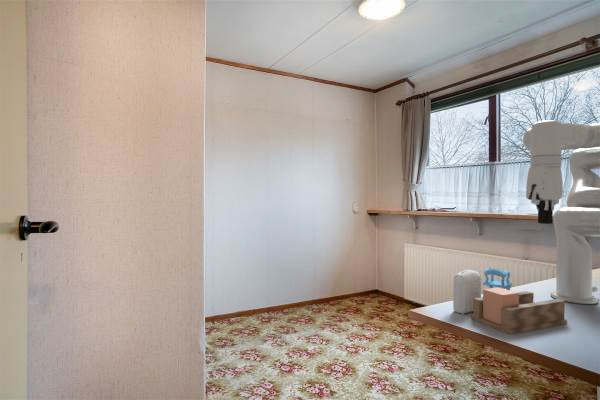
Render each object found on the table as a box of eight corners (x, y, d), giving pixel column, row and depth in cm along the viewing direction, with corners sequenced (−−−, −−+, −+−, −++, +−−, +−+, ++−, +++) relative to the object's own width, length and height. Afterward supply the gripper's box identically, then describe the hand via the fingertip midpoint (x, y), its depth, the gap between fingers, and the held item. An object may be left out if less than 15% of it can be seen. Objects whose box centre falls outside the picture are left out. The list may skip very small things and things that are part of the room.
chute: (524, 309, 104) (524, 290, 104) (567, 323, 92) (567, 301, 92) (471, 318, 96) (471, 297, 96) (510, 334, 85) (510, 310, 85)
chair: (514, 304, 109) (515, 267, 109) (506, 309, 103) (506, 271, 103) (489, 299, 115) (489, 264, 115) (479, 303, 109) (479, 267, 109)
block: (498, 315, 96) (498, 287, 95) (518, 322, 90) (518, 292, 90) (482, 317, 93) (483, 289, 93) (502, 325, 88) (502, 295, 88)
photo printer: (469, 305, 108) (469, 267, 108) (483, 309, 104) (483, 269, 104) (451, 311, 102) (451, 270, 102) (464, 315, 99) (464, 273, 99)
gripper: (549, 164, 107) (548, 222, 107) (516, 162, 102) (515, 223, 102) (575, 162, 100) (575, 223, 100) (541, 160, 95) (541, 225, 95)
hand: (545, 223), depth 101 cm, fingers closed
